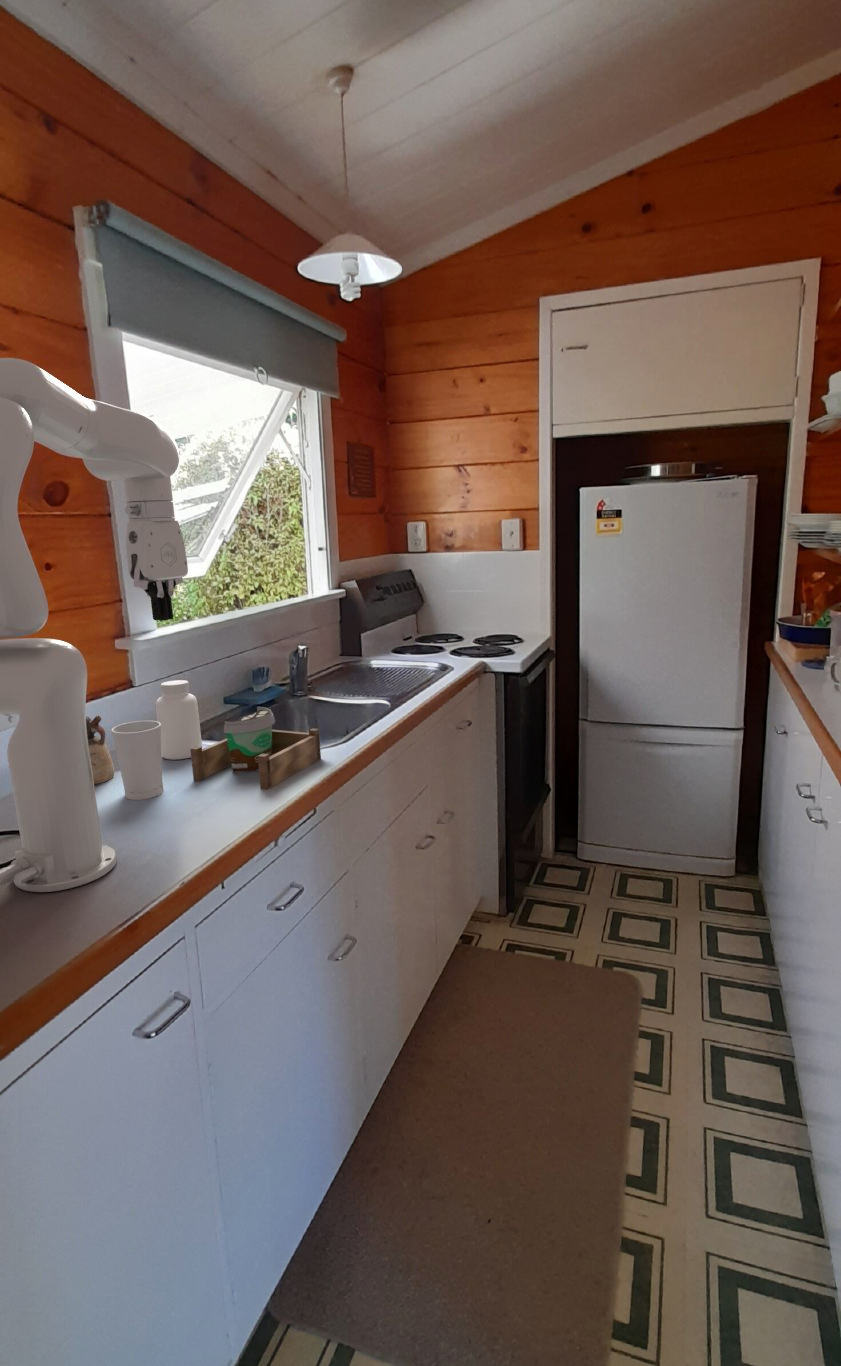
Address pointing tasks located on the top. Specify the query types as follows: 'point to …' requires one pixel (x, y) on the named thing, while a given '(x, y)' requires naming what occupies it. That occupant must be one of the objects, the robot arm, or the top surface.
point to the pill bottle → (178, 720)
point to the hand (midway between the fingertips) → (163, 619)
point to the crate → (263, 757)
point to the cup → (139, 758)
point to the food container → (249, 739)
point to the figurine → (98, 752)
